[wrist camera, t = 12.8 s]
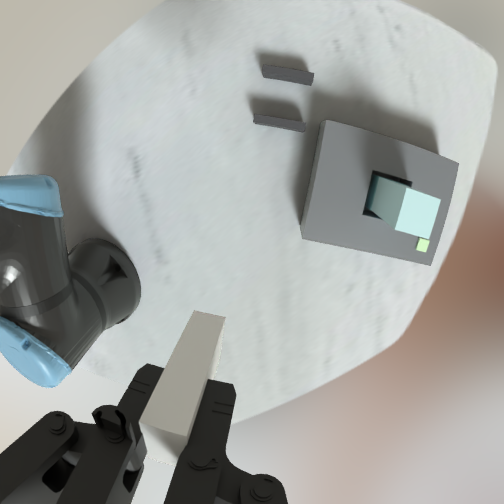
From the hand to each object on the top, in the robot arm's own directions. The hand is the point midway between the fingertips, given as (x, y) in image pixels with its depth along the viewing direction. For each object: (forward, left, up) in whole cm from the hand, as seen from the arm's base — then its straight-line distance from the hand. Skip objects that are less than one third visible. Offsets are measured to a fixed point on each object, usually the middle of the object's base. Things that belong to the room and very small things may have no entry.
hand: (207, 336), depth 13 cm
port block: (+15, +6, -26) cm, 31 cm away
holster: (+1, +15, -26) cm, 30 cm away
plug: (+15, +6, -25) cm, 30 cm away
